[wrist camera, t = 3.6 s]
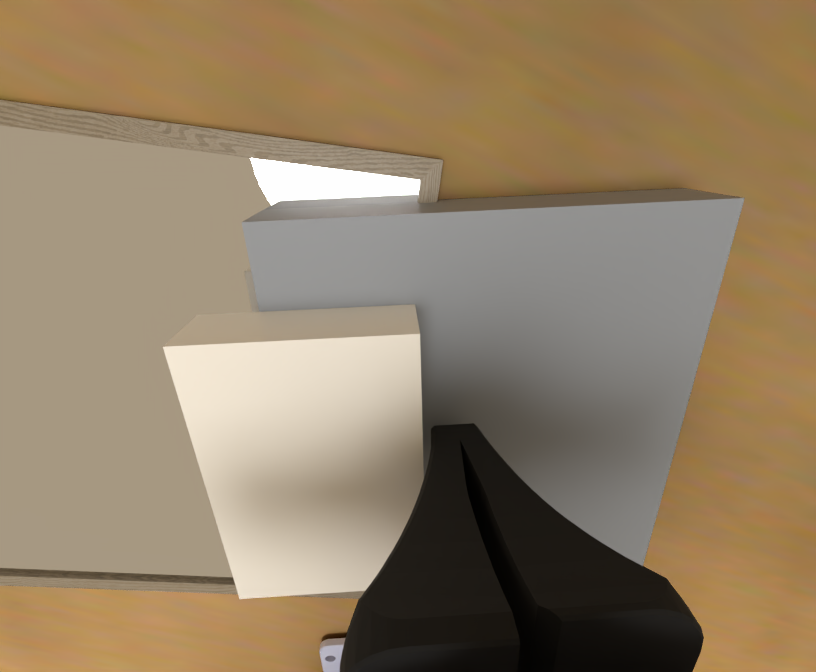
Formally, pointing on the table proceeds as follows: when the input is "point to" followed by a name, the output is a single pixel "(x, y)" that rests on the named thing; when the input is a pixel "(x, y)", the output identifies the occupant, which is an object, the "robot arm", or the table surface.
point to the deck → (532, 324)
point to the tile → (304, 439)
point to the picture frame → (133, 327)
